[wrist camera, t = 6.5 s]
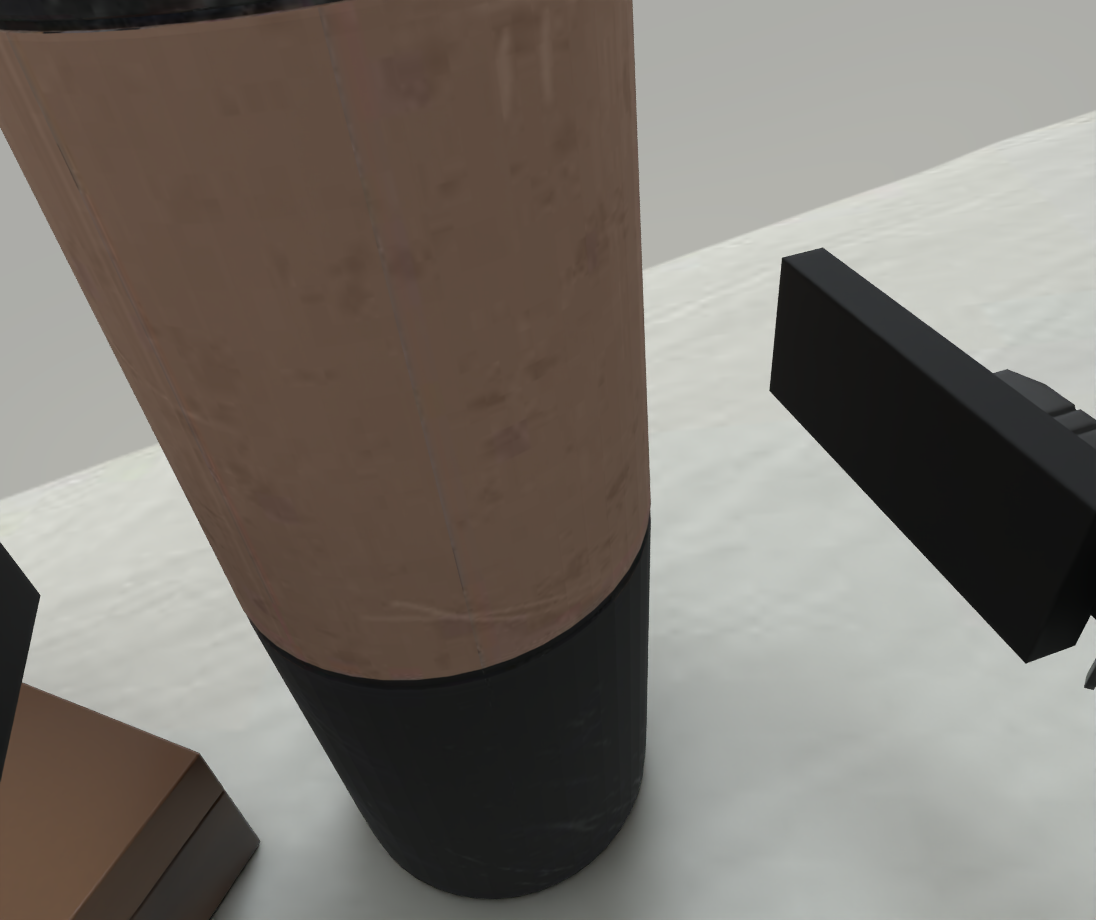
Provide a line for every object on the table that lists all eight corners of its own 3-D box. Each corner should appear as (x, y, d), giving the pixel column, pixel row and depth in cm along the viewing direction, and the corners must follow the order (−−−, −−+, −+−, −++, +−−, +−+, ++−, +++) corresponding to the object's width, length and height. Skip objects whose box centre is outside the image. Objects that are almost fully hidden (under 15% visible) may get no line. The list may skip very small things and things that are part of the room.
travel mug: (307, 898, 19) (-526, -323, 6) (398, 624, 24) (87, -292, 11) (650, 932, 17) (589, -522, 4) (661, 636, 23) (646, -377, 10)
